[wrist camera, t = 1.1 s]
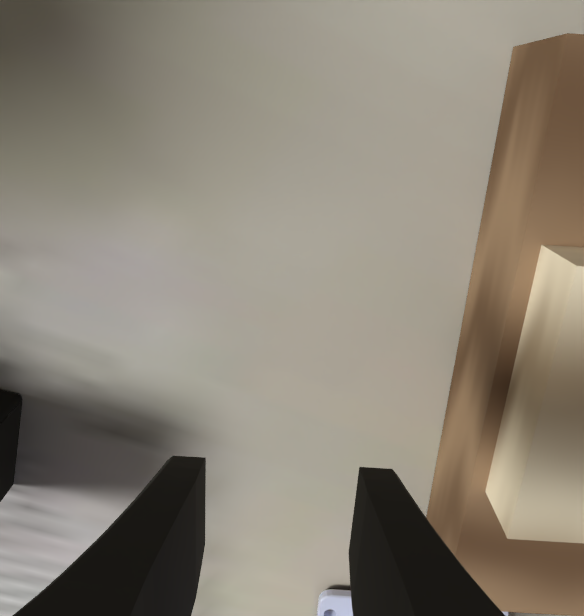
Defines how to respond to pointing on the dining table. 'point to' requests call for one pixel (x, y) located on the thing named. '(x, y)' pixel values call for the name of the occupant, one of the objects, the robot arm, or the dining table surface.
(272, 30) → the dining table surface
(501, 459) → the birch block
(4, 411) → the digital camera
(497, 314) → the board
